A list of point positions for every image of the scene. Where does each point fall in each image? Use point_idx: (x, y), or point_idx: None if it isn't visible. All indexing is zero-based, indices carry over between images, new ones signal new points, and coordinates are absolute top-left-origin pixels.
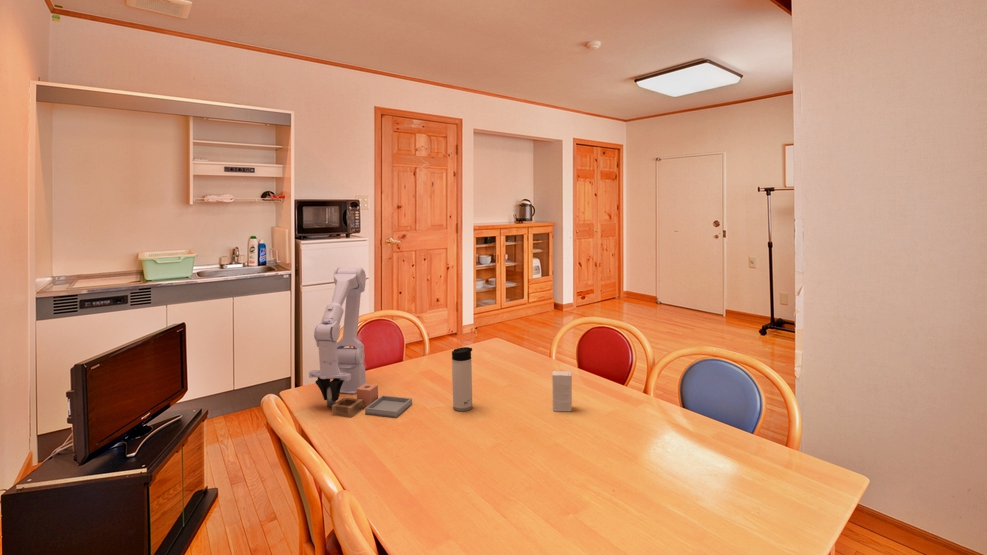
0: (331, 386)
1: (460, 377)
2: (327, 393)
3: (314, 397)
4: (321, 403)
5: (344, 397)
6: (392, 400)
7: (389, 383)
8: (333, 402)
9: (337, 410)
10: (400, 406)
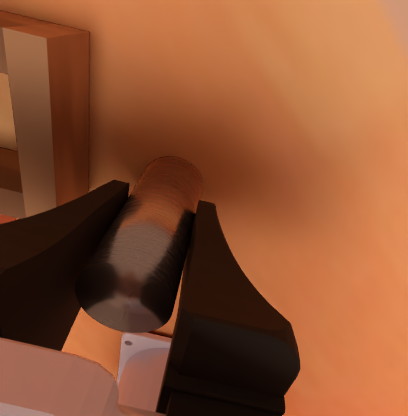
0: (24, 246)
1: None
2: (157, 225)
3: (344, 311)
4: (268, 234)
5: None
6: None
7: None
8: (136, 185)
9: (8, 21)
10: None
